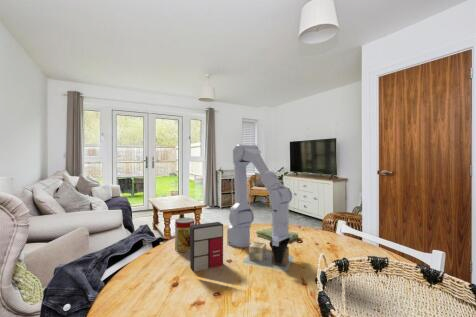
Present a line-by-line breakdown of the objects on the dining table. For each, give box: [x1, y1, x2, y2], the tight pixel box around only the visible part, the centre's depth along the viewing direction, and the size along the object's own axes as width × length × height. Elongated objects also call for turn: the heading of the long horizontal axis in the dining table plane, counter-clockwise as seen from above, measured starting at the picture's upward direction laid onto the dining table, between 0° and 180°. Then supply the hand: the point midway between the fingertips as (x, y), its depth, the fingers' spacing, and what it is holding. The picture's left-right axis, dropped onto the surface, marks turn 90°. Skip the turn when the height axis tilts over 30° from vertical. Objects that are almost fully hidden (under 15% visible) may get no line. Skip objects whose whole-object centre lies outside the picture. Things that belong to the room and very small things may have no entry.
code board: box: [242, 251, 294, 272], centre depth 86 cm, size 16×13×1 cm
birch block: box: [248, 241, 267, 262], centre depth 87 cm, size 5×5×5 cm
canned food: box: [174, 217, 195, 253], centre depth 98 cm, size 8×8×12 cm
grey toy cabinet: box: [189, 221, 224, 272], centre depth 80 cm, size 11×4×15 cm, turn 117°
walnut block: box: [271, 246, 290, 266], centre depth 83 cm, size 5×5×5 cm
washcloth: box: [255, 227, 299, 243], centre depth 113 cm, size 13×18×3 cm
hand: (280, 259), depth 83 cm, fingers closed on walnut block, 5 cm apart
